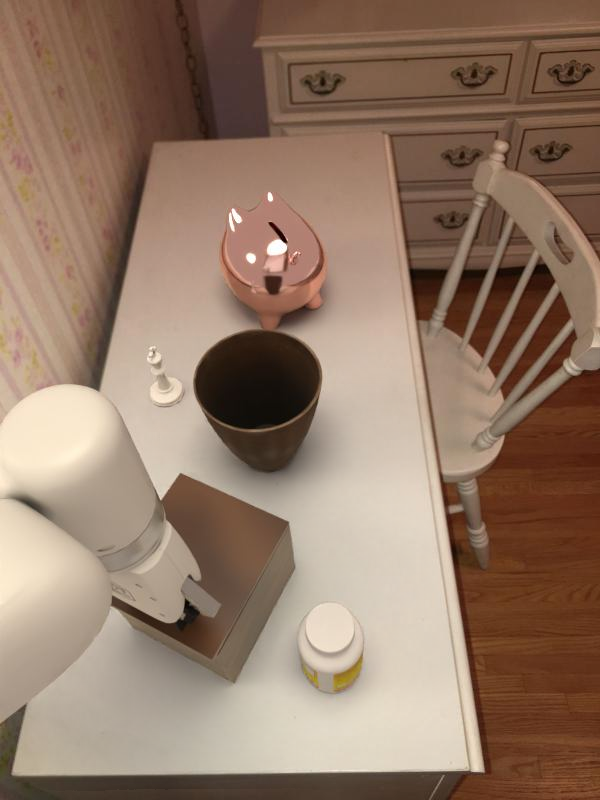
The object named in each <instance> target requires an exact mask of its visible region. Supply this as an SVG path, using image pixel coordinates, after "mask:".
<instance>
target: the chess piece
mask: <svg viewBox="0 0 600 800" xmlns="http://www.w3.org/2000/svg"><path fill="white" fill-rule="evenodd" d="M148 352H149V353H148V355H147V357H146V361H147V363H148V364H149V365H150V366H151V367H150V373H151V374H152V375H154V376H156V379H157V380H155V381H154V382H153V383H152V384H151V386H150V388H149V398H150V401H151V402H152V403H153V404H155V405H156V406H158V407H164V408H165V407H171V406H174V405H176V404H177V403H179V402H180V400H182V398H183V397H184V393H185V388H184V385H183V383H182V382H181V381H180V380H179V379H177V378H176V377H171V376H166V374H165V372H166V371H167V365H165V363H163V356H162V354H161V353H160V352H157V346H154V345H153V346H149V348H148Z"/></svg>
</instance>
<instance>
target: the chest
mask: <svg viewBox="0 0 600 800" xmlns="http://www.w3.org/2000/svg"><path fill="white" fill-rule="evenodd" d="M295 569H296V562H295V553H294V547H293V540H292V532H291V525H290V524H289V527H288V529H287V531H286V532H285V534H284V536H283V538H282V540H281V541H280V543H279V545H278V547H277V548H276V550H275V552H274V554H273V556H272V557H271V559H270V561H269V563H268V565H267V566H266V568H265V570H264V572H263V574H262V575H261V577H260V579H259V581H258V582H257V584H256V586H255V588H254V590H253V591H252V593H251V595H250V597H249V599H248V600H247V602H246V604H245V606H244V608H243V609H242V611H241V613H240V615H239V616H238V618H237V620H236V622H235V624H234V625H233V627H232V629H231V631H230V633H229V634H228V636H227V638H226V640H225V642H224V643H223V645H222V647H221V649H220V650H219V652H218V654H217V656H216V658H215V659H214V661H213V662H212V661H210V660H208V659H207V658H205V657H203V656H201V655H199V654H197V653H196V652H194V651H192V650H190V649H188V648H186V647H185V646H183V645H181V644H179V643H177V642H175V641H174V640H172V639H170V638H168V637H166V636H165V635H163V634H161V633H159V632H157V631H155V630H154V629H152V628H150V627H148V626H146V625H144V624H143V623H141V622H139V621H137V620H135V619H133V618H132V617H130V616H128V615H126V614H124V613H122V612H121V611H119V610H117V612H118V613H120V614H121V616H122V617H123V618H124V619H125V620H126V622H127V623H128V624H129V625H130V627H132V628H133V629H135V630H136V631H138V632H139V633H142V634H144V635H145V636H147V637H149V638H151V639H153V640H155V641H156V642H159V644H162V645H163V646H165V647H167V648H169V649H171V650H173V651H174V652H176V653H178V654H180V655H182V656H183V657H185V658H187V659H189V660H191V661H192V662H195V663H196V664H198V665H200V666H201V667H204V668H205V669H207V670H209V671H211V672H213V673H214V674H216V675H217V676H220V677H222V678H224V679H225V680H227V681H229V682H231V683H232V684H235V683H236V682H237V679H238V678H239V676H240V674H241V672H242V670H243V668H244V667H245V664H246V662H247V660H248V658H249V657H250V654H251V653H252V651H253V649H254V647H255V645H256V643H257V642H258V640H259V638H260V635H262V632H263V630H264V629H265V627H266V624H267V622H268V621H269V619H270V617H271V614H273V613H272V612H273V611H274V609H275V608H276V605H277V603H278V601H279V599H280V597H281V596H282V594H283V592H284V590H285V588H286V586H287V584H288V583H289V581H290V578H291V577H292V575H293V573H294V571H295Z"/></svg>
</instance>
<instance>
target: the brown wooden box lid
mask: <svg viewBox="0 0 600 800" xmlns="http://www.w3.org/2000/svg"><path fill="white" fill-rule="evenodd" d="M160 500H161V502H162V505H163V507H164V510H165V515H166V520H167V521H168V522H169V523H170V524H171V525H172V526H173V528H174V529H175V530H176V531H177V533H178V534H179V535H180V537H181V538H182V539H183V541H184V542H185V544H186V545H187V547H188V548H189V550H190V551H191V553H192V555H193V557H194V558H195V560H196V562H197V564H198V567H199V569H200V573H201V582H197V583H196V584H197V585H199V586H200V587H201V588H202V589H203V590H205V591H206V592H207V593H208V594H209V595H211V596H212V597H213V598H214V599H215V600H217V601H218V602H219V603H220V604H221V606H220V608H219V610H218V611H217V613H216V615H215V617H214V618H211V617H207V616H203V615H202V614H201V613H200V614H199V616H198V617H196V619H195V620H194V622H193V623H192V624H190V623H187V625H186V627H185V628H184V630H183V631H182V632H181V631H179V630H178V629H176V627H175V626H174V624H173V623H165V622H163V621H160V620H158V619H156V618H154V617H152V616H150V615H148V614H146V613H144V612H143V611H141V610H139V609H137V608H135V607H133V606H131V605H129V604H128V603H126V602H124V601H122V600H120V599H118V598H117V597H115V596H113V595H112V602H111V607H112V608H113V609H115V610H117V611H118V610H119V611H121V612H122V613H124V614H126V615H128V616H130V617H132V618H133V619H135V620H137V621H139V622H141V623H143V624H144V625H146V626H148V627H150V628H152V629H154V630H155V631H157V632H159V633H161V634H163V635H165V636H166V637H168V638H170V639H172V640H174V641H175V642H177V643H179V644H181V645H183V646H185V647H186V648H188V649H190V650H192V651H194V652H196V653H197V654H199V655H201V656H203V657H205V658H207V659H208V660H210V661H212V662H213V661H214V659H215V658H216V656H217V654H218V652H219V650H220V649H221V647H222V645H223V643H224V642H225V640H226V638H227V636H228V634H229V633H230V631H231V629H232V627H233V625H234V624H235V622H236V620H237V618H238V616H239V615H240V613H241V611H242V609H243V608H244V606H245V604H246V602H247V600H248V599H249V597H250V595H251V593H252V591H253V590H254V588H255V586H256V584H257V582H258V581H259V579H260V577H261V575H262V574H263V572H264V570H265V568H266V566H267V565H268V563H269V561H270V559H271V557H272V556H273V554H274V552H275V550H276V548H277V547H278V545H279V543H280V541H281V540H282V538H283V536H284V534H285V532H286V531H287V529H288V527H289V525H290V521H288V520H287V519H284V518H283V517H282V518H281V517H280V516H278V515H275V514H273V513H271V512H268V511H266V510H264V509H262V508H259V507H257V506H255V505H253V504H251V503H249V502H247V501H244V500H242V499H239V498H238V497H235V496H233V495H231V494H228V493H227V492H224V491H222V490H220V489H218V488H216V487H213V486H211V485H209V484H206V483H205V482H201V481H200V480H197V479H196V478H193V477H191V476H189V475H186V474H184V473H182V472H179V474H178V475H177V477H176V478H175V480H174V481H173V482H172V484H171V485H170V487H169V488H168V490H167V491H166V492H165V494H164V496H162V498H161V499H160ZM111 607H110V608H111ZM119 611H118V612H119Z"/></svg>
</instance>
